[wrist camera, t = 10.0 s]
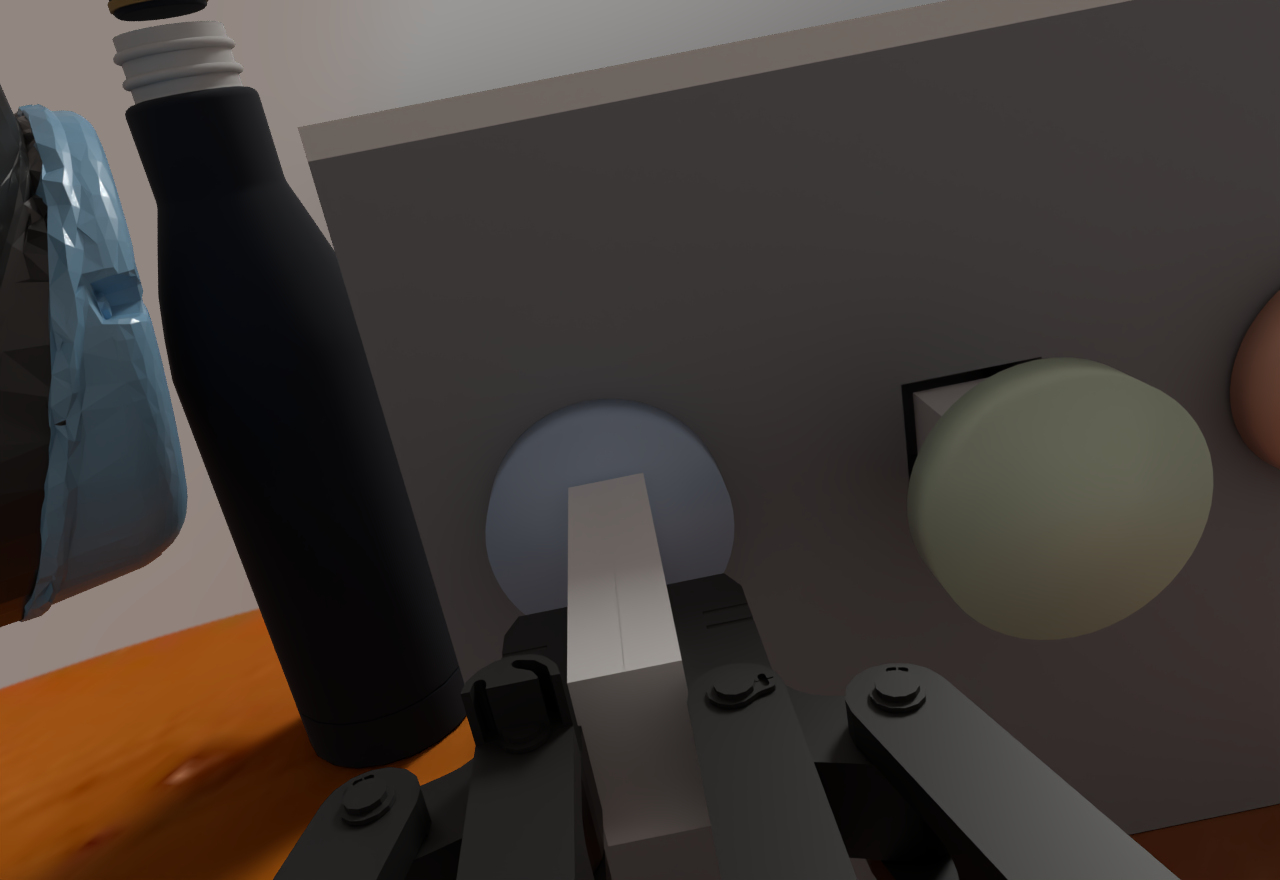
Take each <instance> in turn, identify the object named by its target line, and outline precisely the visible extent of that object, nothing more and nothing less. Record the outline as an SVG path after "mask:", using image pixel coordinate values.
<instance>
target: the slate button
mask: <svg viewBox="0 0 1280 880" xmlns="http://www.w3.org/2000/svg"><path fill="white" fill-rule="evenodd" d="M639 473H643V474H644V479H645V484H646V489H647V494H648V499H649V504H650V508H651V513H652V518H653V523H654V528H655V533H656V538H657V542H658V547H659V552H660V557H661V562H662V567H663V572H664V576H665V581H666V585H667V584H672V583H677V582H682V581H687V580H692V579H697V578H702V577H707V576H712V575H717V574H722V573H724V571H725V569H726V567H727V564H728V561H729V558H730V555H731V551H732V546H733V541H734V526H735V525H734V514H733V508H732V504H731V499H730V496H729V493H728V491H727V488H726V486H725V483H724V481H723V478H722V476H721V474H720V472H719V469H718V467H717V465H716V462H715V460H714V458H713V457H712V455H711V453H710V451H709V450H708V448H707V447H706V445H705V444H704V443H703V442H702V440H701V439H700V438H699V437H698V436H697V435H696V434H695V433H694V432H693V431H692V430H691V429H690V428H689V427H688V426H687V425H685V424H684V423H683V422H681V421H680V420H679V419H677V418H676V417H674V416H672V415H670V414H669V413H667V412H665V411H663V410H661V409H658V408H656V407H653V406H650V405H648V404H644V403H640V402H636V401H631V400H622V399H598V400H590V401H584V402H580V403H576V404H572V405H569V406H566V407H564V408H562V409H559V410H557V411H554V412H552V413H551V414H549V415H547V416H545V417H544V418H542V419H540V420H539V421H537V422H536V423H535V424H533V425H532V426H531V427H529V428H528V429H527V430H526V431H525V432H524V433H523V434H522V435H521V436H520V437H519V438H518V439H517V440H516V441H515V443H514V444H513V445H512V446H511V448H510V449H509V450H508V452H507V453H506V455H505V457H504V459H503V460H502V462H501V464H500V466H499V468H498V471H497V473H496V476H495V479H494V483H493V487H492V491H491V496H490V501H489V507H488V512H487V519H486V529H485V534H486V548H487V553H488V558H489V562H490V565H491V568H492V570H493V573H494V575H495V577H496V579H497V581H498V583H499V585H500V587H501V588H502V590H503V591H504V593H505V594H506V595H507V597H508V598H509V600H510V601H511V602H512V603H513V604H514V605H515V606H516V607H517V608H518V609H519V610H520V611H521V612H522V613H524V614H525V615H529V614H534V613H539V612H544V611H549V610H554V609H559V608H564V607H568V488H569V487H574V486H579V485H584V484H589V483H594V482H599V481H604V480H609V479H614V478H619V477H624V476H629V475H634V474H639Z"/></svg>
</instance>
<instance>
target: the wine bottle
mask: <svg viewBox="0 0 1280 880" xmlns="http://www.w3.org/2000/svg"><path fill="white" fill-rule="evenodd" d="M207 1H208V0H109V2H108V8H109V10H110V13H111V14H113V15H114V16H115V17H116V18H118V19H120V20H124V21H147V20H158V19H166V18H172V17H178V16H183V15H187V14H191V13H194V12H198V11H200V10H202V9H204V8H205V7H206V6H207ZM113 42H114V45H115V48H116V51H117V54H116V55H115V56H114V58H113V60H114V63H115V64H117V65H119V66H122V68H123V70H124V73H125V76H126V80H125V81H124V82H123V88H124V89H125V90H127V91H131V93H132V96H133V98H134V101H135V105H134V106H131V107H130V108H129V109H128V110H127V111H126V113H125V116H126V120H127V123H128V125H129V128H130V131H131V133H132V136H133V139H134V142H135V145H136V147H137V150H138V153H139V156H140V158H141V161H142V164H143V167H144V169H145V172H146V175H147V178H148V181H149V183H150V186H151V189H152V192H153V194H154V197H155V200H156V203H157V208H158V290H159V291H158V294H159V303H160V311H161V317H162V325H163V332H164V339H165V344H166V349H167V354H168V360H169V365H170V370H171V375H172V380H173V383H174V386H175V388H176V391H177V394H178V396H179V399H180V401H181V404H182V407H183V409H184V412H185V415H186V417H187V420H188V422H189V425H190V428H191V430H192V433H193V435H194V438H195V441H196V443H197V446H198V449H199V451H200V454H201V457H202V459H203V462H204V464H205V467H206V470H207V472H208V475H209V478H210V480H211V483H212V485H213V488H214V491H215V493H216V496H217V499H218V501H219V504H220V506H221V509H222V512H223V514H224V517H225V519H226V522H227V525H228V527H229V530H230V533H231V535H232V538H233V540H234V543H235V546H236V548H237V551H238V554H239V556H240V559H241V561H242V564H243V567H244V569H245V572H246V575H247V577H248V580H249V582H250V585H251V587H252V590H253V593H254V596H255V598H256V601H257V603H258V606H259V609H260V611H261V614H262V617H263V619H264V622H265V624H266V627H267V630H268V632H269V635H270V638H271V640H272V643H273V645H274V648H275V651H276V653H277V656H278V658H279V661H280V664H281V666H282V669H283V672H284V674H285V677H286V679H287V682H288V685H289V687H290V690H291V693H292V695H293V698H294V700H295V702H296V706H297V708H298V711H299V714H300V716H301V719H302V721H303V724H304V727H305V729H306V732H307V735H308V737H309V740H310V742H311V744H312V746H313V748H314V750H315V751H316V753H317V755H318V756H319V757H321V758H322V759H324V760H326V761H328V762H330V763H332V764H333V765H338V766H346V767H354V768H362V767H369V766H377V765H385V764H388V763H391V762H394V761H397V760H400V759H403V758H406V757H409V756H412V755H414V754H416V753H418V752H420V751H422V750H424V749H425V748H427V747H429V746H431V745H433V744H435V743H437V742H438V741H440V740H441V739H442V738H443V737H445V736H446V735H447V734H448V733H450V732H451V731H452V730H453V729H454V728H456V727H457V726H458V725H459V724H460V723H461V722H462V720H463V719H464V718H465V716H466V711H465V708H464V705H463V701H462V698H461V695H460V694H461V691H462V689H463V687H464V685H465V684H464V681H463V677H462V674H461V671H460V667H459V664H458V661H457V657H456V654H455V651H454V647H453V644H452V641H451V637H450V634H449V631H448V627H447V624H446V621H445V617H444V614H443V611H442V607H441V604H440V601H439V597H438V594H437V591H436V587H435V584H434V581H433V577H432V574H431V571H430V567H429V564H428V560H427V557H426V554H425V550H424V547H423V544H422V540H421V537H420V534H419V530H418V527H417V524H416V520H415V517H414V514H413V510H412V507H411V504H410V500H409V497H408V494H407V490H406V487H405V484H404V480H403V477H402V474H401V470H400V467H399V464H398V460H397V457H396V454H395V450H394V447H393V444H392V440H391V437H390V434H389V430H388V427H387V424H386V420H385V417H384V414H383V410H382V407H381V404H380V400H379V397H378V394H377V390H376V387H375V384H374V380H373V377H372V374H371V370H370V367H369V364H368V360H367V357H366V353H365V350H364V347H363V343H362V340H361V337H360V333H359V330H358V327H357V323H356V320H355V317H354V313H353V310H352V307H351V303H350V300H349V297H348V293H347V290H346V287H345V283H344V280H343V277H342V273H341V270H340V267H339V263H338V260H337V257H336V253H335V251H334V250H333V248H332V247H331V245H330V244H329V243H328V241H327V240H326V238H325V237H324V235H323V234H322V232H321V231H320V229H319V228H318V226H317V225H316V223H315V222H314V220H313V219H312V218H311V216H310V215H309V213H308V212H307V210H306V209H305V207H304V206H303V205H302V203H301V202H300V200H299V199H298V198H297V196H296V195H295V193H294V192H293V190H292V189H291V187H290V186H289V184H288V183H287V181H286V179H285V177H284V174H283V171H282V168H281V165H280V161H279V159H278V155H277V152H276V148H275V146H274V142H273V139H272V136H271V132H270V129H269V126H268V123H267V119H266V116H265V113H264V110H263V107H262V103H261V100H260V97H259V94H258V92H257V91H256V90H255V89H253V88H250V87H244V86H243V85H242V82H241V79H240V76H239V73H241V72H242V71H243V67H242V65H241V64H239V63H237V62H235V60H234V57H233V54H232V51H231V49H232V48H234V47H235V41H234V40H233V39H231V38H230V37H227V35H226V32H225V28H224V25H223V24H222V23H221V22H216V21H197V22H183V23H174V24H166V25H160V26H154V27H149V28H143V29H139V30H134V31H131V32H127V33H123V34H120V35H118V36H116V37H114V38H113Z"/></svg>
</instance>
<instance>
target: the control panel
mask: <svg viewBox="0 0 1280 880" xmlns="http://www.w3.org/2000/svg"><path fill="white" fill-rule="evenodd" d="M298 130H299V133H300V136H301V139H302V143H303V146H304V150H305V153H306V157H307V160H308V163H309V166H310V170H311V173H312V176H313V180H314V183H315V186H316V190H317V193H318V196H319V200H320V203H321V207H322V210H323V213H324V217H325V220H326V223H327V226H328V230H329V233H330V237H331V240H332V243H333V246H334V250H335V253H336V257H337V260H338V263H339V267H340V270H341V273H342V277H343V280H344V283H345V287H346V290H347V293H348V297H349V300H350V303H351V307H352V310H353V313H354V317H355V320H356V323H357V327H358V330H359V333H360V337H361V340H362V343H363V347H364V350H365V353H366V357H367V360H368V364H369V367H370V370H371V374H372V377H373V380H374V384H375V387H376V390H377V394H378V397H379V400H380V404H381V407H382V410H383V414H384V417H385V420H386V424H387V427H388V430H389V434H390V437H391V440H392V444H393V447H394V450H395V454H396V457H397V460H398V464H399V467H400V470H401V474H402V477H403V480H404V484H405V487H406V490H407V494H408V497H409V500H410V504H411V507H412V510H413V514H414V517H415V520H416V524H417V527H418V530H419V534H420V537H421V540H422V544H423V547H424V550H425V554H426V557H427V560H428V564H429V567H430V571H431V574H432V577H433V581H434V584H435V587H436V591H437V594H438V597H439V601H440V604H441V607H442V611H443V614H444V617H445V621H446V624H447V627H448V631H449V634H450V637H451V641H452V644H453V647H454V651H455V654H456V657H457V661H458V664H459V667H460V671H461V674H462V677H463V681H464V684H465V683H466V682H467V681H468V680H469V679H470V678H471V677H472V676H473V675H474V674H475V673H476V672H477V671H478V670H480V669H482V668H484V667H485V666H487V665H489V664H491V663H493V662H494V661H498V660H501V658H502V649H503V642H504V635H505V634H506V633H507V631H508V630H509V629H510V627H511V626H512V625H513V623H514V622H515V621H516V619H517V618H518V617H519V616H524V615H525V614H524V613H522V612H521V611H520V610H519V609H518V608H517V607H516V606H515V605H514V604H513V603H512V602H511V601H510V600H509V598H508V597H507V595H506V594H505V593H504V591H503V590H502V588H501V587H500V585H499V583H498V581H497V579H496V577H495V575H494V573H493V570H492V568H491V565H490V562H489V558H488V553H487V548H486V534H485V529H486V519H487V512H488V507H489V501H490V496H491V491H492V487H493V483H494V479H495V476H496V473H497V471H498V468H499V466H500V464H501V462H502V460H503V459H504V457H505V455H506V453H507V452H508V450H509V449H510V448H511V446H512V445H513V444H514V443H515V441H516V440H517V439H518V438H519V437H520V436H521V435H522V434H523V433H524V432H525V431H526V430H527V429H528V428H529V427H531V426H532V425H533V424H535V423H536V422H537V421H539V420H540V419H542V418H544V417H545V416H547V415H549V414H551V413H552V412H554V411H557V410H559V409H562V408H564V407H566V406H569V405H572V404H576V403H580V402H584V401H590V400H598V399H622V400H631V401H636V402H640V403H644V404H648V405H650V406H653V407H656V408H658V409H661V410H663V411H665V412H667V413H669V414H670V415H672V416H674V417H676V418H677V419H679V420H680V421H681V422H683V423H684V424H685V425H687V426H688V427H689V428H690V429H691V430H692V431H693V432H694V433H695V434H696V435H697V436H698V437H699V438H700V439H701V440H702V442H703V443H704V444H705V445H706V447H707V448H708V450H709V451H710V453H711V455H712V457H713V458H714V460H715V462H716V465H717V467H718V469H719V472H720V474H721V476H722V478H723V481H724V483H725V486H726V488H727V491H728V493H729V496H730V499H731V504H732V508H733V514H734V525H735V526H734V541H733V546H732V551H731V555H730V558H729V561H728V564H727V567H726V569H725V571H724V574H726V575H727V576H729V577H730V578H731V579H733V580H734V581H736V582H737V583H739V584H740V585H741V586H742V588H743V591H744V594H745V597H746V599H747V602H748V606H749V608H750V610H751V613H752V616H753V620H754V621H755V624H756V627H757V629H758V632H759V635H760V638H761V640H762V643H763V646H764V649H765V651H766V654H767V657H768V660H769V662H770V665H771V668H772V670H773V671H775V672H777V674H778V675H779V676H780V678H781V679H782V680H783V682H784V683H785V685H786V686H788V687H790V688H793V689H795V690H797V691H800V692H804V693H808V694H813V695H823V696H845V695H846V687H847V686H848V684H849V683H850V682H851V681H852V679H853V678H854V677H855V676H856V675H858V674H859V673H861V672H863V671H865V670H867V669H869V668H870V667H875V666H879V665H884V664H888V663H909V664H913V665H918V666H922V667H926V668H929V669H931V670H932V671H934V672H936V673H937V674H939V675H941V676H943V677H944V678H945V679H946V680H947V681H949V682H950V683H951V684H952V685H953V686H954V687H956V688H957V689H958V690H959V691H960V692H961V693H963V694H964V695H965V696H966V697H967V698H968V699H970V700H971V701H972V702H973V703H974V704H975V705H977V706H978V707H979V708H980V709H981V710H983V711H984V712H985V713H986V714H987V715H988V716H990V717H991V718H992V719H993V720H994V721H995V722H997V723H998V724H999V725H1000V726H1001V727H1002V728H1004V729H1005V730H1006V731H1007V732H1008V733H1009V734H1011V735H1012V736H1013V737H1014V738H1015V739H1016V740H1018V741H1019V742H1020V743H1021V744H1022V745H1023V746H1025V747H1026V748H1027V749H1028V750H1029V751H1030V752H1032V753H1033V754H1034V755H1035V756H1036V757H1037V758H1039V759H1040V760H1041V761H1042V762H1043V763H1044V764H1046V765H1047V766H1048V767H1049V768H1050V769H1052V770H1053V771H1054V772H1055V773H1056V774H1057V775H1059V776H1060V777H1061V778H1062V779H1063V780H1064V781H1066V782H1067V783H1068V784H1069V785H1070V786H1071V787H1073V788H1074V789H1075V790H1076V791H1077V792H1078V793H1080V794H1081V795H1082V796H1083V797H1084V798H1085V799H1087V800H1088V801H1089V802H1090V803H1091V804H1092V805H1094V806H1095V807H1096V808H1097V809H1098V810H1099V811H1101V812H1102V813H1103V814H1104V815H1105V816H1106V817H1108V818H1109V819H1110V820H1111V821H1112V822H1113V823H1115V824H1116V825H1117V826H1118V827H1119V828H1121V829H1122V830H1123V831H1124V832H1125V833H1126V834H1128V835H1130V834H1135V833H1140V832H1145V831H1150V830H1154V829H1159V828H1164V827H1169V826H1174V825H1179V824H1183V823H1188V822H1193V821H1198V820H1203V819H1208V818H1212V817H1217V816H1222V815H1227V814H1232V813H1236V812H1241V811H1246V810H1251V809H1256V808H1261V807H1265V806H1270V805H1275V804H1280V470H1279V469H1277V468H1275V467H1273V466H1272V465H1270V464H1268V463H1266V462H1265V461H1263V460H1262V459H1260V458H1259V457H1258V456H1257V455H1255V454H1254V453H1253V452H1252V451H1251V450H1250V449H1249V448H1248V446H1247V445H1246V444H1245V442H1244V441H1243V440H1242V438H1241V436H1240V434H1239V432H1238V430H1237V428H1236V425H1235V422H1234V419H1233V416H1232V410H1231V404H1230V384H1231V375H1232V370H1233V366H1234V362H1235V358H1236V356H1237V353H1238V350H1239V348H1240V345H1241V343H1242V341H1243V339H1244V337H1245V335H1246V333H1247V331H1248V329H1249V327H1250V326H1251V324H1252V323H1253V321H1254V320H1255V318H1256V316H1257V315H1258V314H1259V312H1260V311H1261V310H1262V309H1263V307H1264V306H1265V305H1266V304H1267V302H1268V301H1269V300H1270V299H1271V298H1272V297H1273V296H1274V295H1275V294H1276V293H1277V292H1278V291H1279V290H1280V0H947V1H943V2H938V3H933V4H927V5H922V6H917V7H912V8H907V9H902V10H897V11H891V12H886V13H881V14H876V15H871V16H866V17H861V18H855V19H850V20H845V21H840V22H835V23H830V24H825V25H820V26H815V27H809V28H804V29H800V30H794V31H789V32H784V33H779V34H774V35H768V36H764V37H758V38H753V39H748V40H743V41H738V42H733V43H728V44H722V45H718V46H712V47H707V48H702V49H697V50H692V51H687V52H682V53H677V54H671V55H666V56H661V57H656V58H651V59H646V60H641V61H635V62H631V63H625V64H621V65H615V66H610V67H605V68H600V69H595V70H589V71H585V72H579V73H574V74H569V75H564V76H559V77H554V78H549V79H544V80H538V81H533V82H528V83H523V84H518V85H513V86H508V87H503V88H498V89H493V90H487V91H482V92H477V93H472V94H467V95H462V96H457V97H452V98H446V99H441V100H436V101H431V102H426V103H421V104H416V105H410V106H405V107H401V108H395V109H390V110H385V111H380V112H375V113H370V114H365V115H359V116H354V117H349V118H344V119H339V120H334V121H329V122H324V123H319V124H313V125H308V126H303V127H298ZM1062 357H1072V358H1079V359H1087V360H1091V361H1095V362H1098V363H1102V364H1105V365H1107V366H1110V367H1112V368H1114V369H1116V370H1119V371H1121V372H1123V373H1125V374H1127V375H1129V376H1131V377H1133V378H1135V379H1138V380H1140V381H1142V382H1144V383H1146V384H1148V385H1150V386H1152V387H1154V388H1156V389H1159V390H1161V391H1162V392H1164V393H1165V394H1167V395H1168V396H1170V397H1171V398H1173V399H1174V400H1176V401H1177V402H1178V403H1179V404H1180V405H1181V406H1182V407H1183V408H1184V409H1185V410H1186V411H1187V412H1188V413H1189V414H1190V415H1191V417H1192V418H1193V419H1194V421H1195V422H1196V423H1197V425H1198V427H1199V428H1200V430H1201V432H1202V434H1203V436H1204V438H1205V440H1206V443H1207V446H1208V449H1209V452H1210V456H1211V462H1212V468H1213V494H1212V503H1211V508H1210V512H1209V516H1208V520H1207V523H1206V525H1205V528H1204V530H1203V533H1202V536H1201V538H1200V540H1199V542H1198V544H1197V546H1196V548H1195V549H1194V551H1193V553H1192V555H1191V556H1190V558H1189V559H1188V561H1187V562H1186V564H1185V565H1184V567H1183V568H1182V569H1181V571H1180V572H1179V573H1178V574H1177V575H1176V577H1175V578H1174V579H1173V580H1172V581H1171V583H1170V584H1169V585H1168V586H1166V587H1165V588H1164V589H1163V590H1162V591H1161V592H1160V593H1159V594H1158V595H1157V596H1156V597H1155V598H1153V599H1152V600H1151V601H1150V602H1148V603H1147V604H1146V605H1145V606H1143V607H1142V608H1141V609H1139V610H1137V611H1136V612H1134V613H1133V614H1131V615H1129V616H1128V617H1126V618H1124V619H1122V620H1120V621H1118V622H1116V623H1114V624H1112V625H1110V626H1108V627H1105V628H1103V629H1100V630H1097V631H1095V632H1092V633H1088V634H1085V635H1081V636H1077V637H1072V638H1065V639H1058V640H1032V639H1022V638H1018V637H1013V636H1009V635H1005V634H1003V633H1000V632H997V631H994V630H992V629H990V628H988V627H986V626H984V625H983V624H981V623H979V622H977V621H976V620H975V619H973V618H972V617H971V616H969V615H968V614H967V613H965V612H964V611H963V610H962V609H961V608H960V606H959V605H958V604H957V603H956V602H955V601H954V600H953V599H952V597H951V596H950V595H949V594H948V592H947V591H946V590H945V589H944V587H943V586H942V585H941V584H940V582H939V581H938V580H937V579H936V577H935V576H934V575H933V574H932V572H931V571H930V570H929V568H928V567H927V566H926V564H925V563H924V561H923V560H922V559H921V557H920V555H919V553H918V551H917V549H916V547H915V545H914V542H913V539H912V536H911V532H910V528H909V522H908V516H907V495H908V487H909V481H910V477H911V473H912V469H913V466H914V463H915V461H916V458H917V456H918V451H917V439H916V426H915V414H914V401H913V393H914V392H919V391H924V390H929V389H934V388H939V387H944V386H948V385H953V384H958V383H963V382H968V381H973V380H978V379H983V378H988V377H991V376H993V375H994V374H996V373H998V372H1000V371H1003V370H1005V369H1008V368H1010V367H1013V366H1015V365H1018V364H1022V363H1026V362H1030V361H1033V360H1039V359H1046V358H1062ZM603 834H604V849H605V853H606V857H607V861H608V865H609V869H610V873H611V878H612V880H721V875H720V870H719V865H718V859H717V854H716V849H715V844H714V839H713V834H712V828H711V826H708V827H703V828H698V829H693V830H688V831H683V832H678V833H673V834H668V835H663V836H658V837H653V838H648V839H643V840H638V841H633V842H628V843H623V844H618V845H613V846H608V843H607V839H606V835H605V831H604V827H603ZM849 859H850V861H851V864H852V867H853V869H854V872H855V875H856V877H857V880H877V879H876V878H875V876H874V875H873V874H872V872H871V870H870V868H869V865H868V863H867V861H866V859H859V858H849Z"/></svg>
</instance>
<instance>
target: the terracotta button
mask: <svg viewBox="0 0 1280 880" xmlns="http://www.w3.org/2000/svg"><path fill="white" fill-rule="evenodd" d="M1230 404H1231V410H1232V416H1233V419H1234V422H1235V425H1236V428H1237V430H1238V432H1239V434H1240V436H1241V438H1242V440H1243V441H1244V442H1245V444H1246V445H1247V446H1248V448H1249V449H1250V450H1251V451H1252V452H1253V453H1254V454H1255V455H1257V456H1258V457H1259V458H1260V459H1262V460H1263V461H1265V462H1266V463H1268V464H1270V465H1272V466H1273V467H1275V468H1277V469H1279V470H1280V290H1279V291H1278V292H1277V293H1276V294H1275V295H1274V296H1273V297H1272V298H1271V299H1270V300H1269V301H1268V302H1267V304H1266V305H1265V306H1264V307H1263V309H1262V310H1261V311H1260V312H1259V314H1258V315H1257V316H1256V318H1255V320H1254V321H1253V323H1252V324H1251V326H1250V327H1249V329H1248V331H1247V333H1246V335H1245V337H1244V339H1243V341H1242V343H1241V345H1240V348H1239V350H1238V353H1237V356H1236V358H1235V362H1234V366H1233V370H1232V375H1231V384H1230Z"/></svg>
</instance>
